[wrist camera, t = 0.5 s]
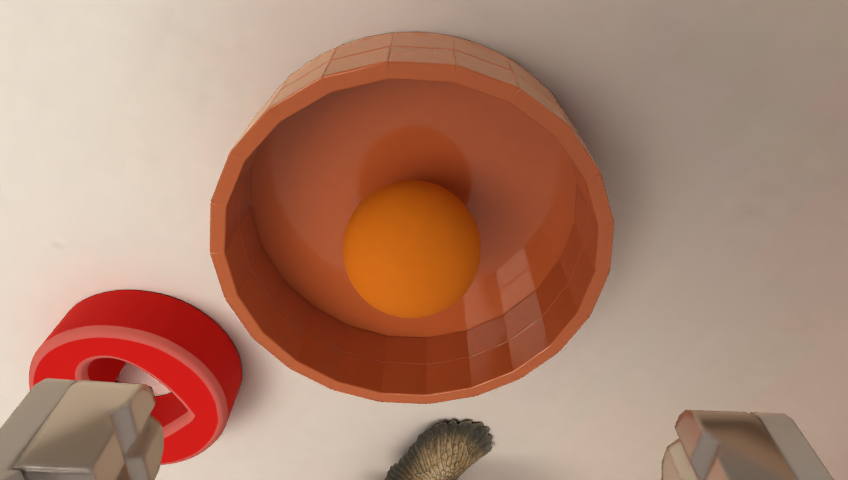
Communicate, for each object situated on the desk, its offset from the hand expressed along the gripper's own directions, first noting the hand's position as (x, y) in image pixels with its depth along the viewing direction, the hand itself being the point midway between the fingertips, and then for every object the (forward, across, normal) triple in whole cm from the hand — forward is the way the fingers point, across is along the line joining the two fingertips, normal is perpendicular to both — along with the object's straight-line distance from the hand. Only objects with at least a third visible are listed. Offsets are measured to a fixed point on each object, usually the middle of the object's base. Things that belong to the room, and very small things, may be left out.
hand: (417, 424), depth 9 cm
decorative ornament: (+18, +14, +16) cm, 28 cm away
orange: (+17, 0, +6) cm, 18 cm away
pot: (+18, 0, +6) cm, 19 cm away
